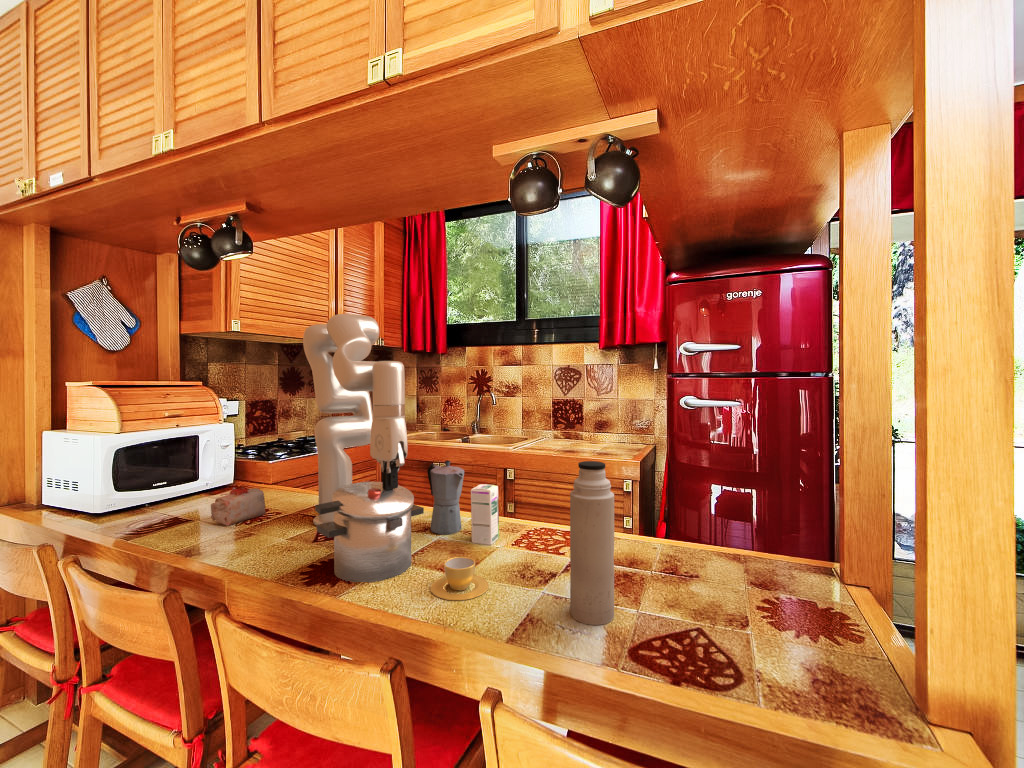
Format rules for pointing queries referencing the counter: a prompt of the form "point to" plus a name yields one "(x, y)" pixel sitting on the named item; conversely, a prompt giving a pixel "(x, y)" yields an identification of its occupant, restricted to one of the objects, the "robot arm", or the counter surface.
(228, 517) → the food item
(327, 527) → the pot
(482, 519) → the syrup box
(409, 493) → the lid
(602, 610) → the thermos bottle
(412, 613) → the counter surface
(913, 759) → the counter surface
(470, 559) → the cup
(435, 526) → the moka pot
